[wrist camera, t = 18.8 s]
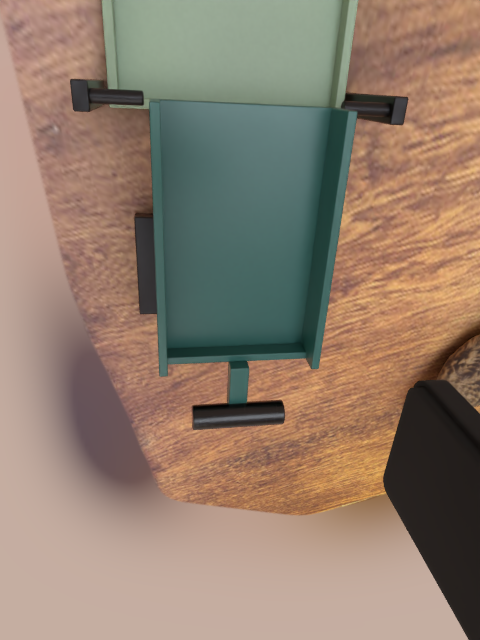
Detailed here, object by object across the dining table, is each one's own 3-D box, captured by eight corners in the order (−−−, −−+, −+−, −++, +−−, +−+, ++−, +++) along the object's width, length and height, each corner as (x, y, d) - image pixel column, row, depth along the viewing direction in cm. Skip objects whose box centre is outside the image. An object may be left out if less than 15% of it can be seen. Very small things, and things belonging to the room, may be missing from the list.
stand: (322, 304, 39) (358, 354, 32) (111, 309, 36) (100, 366, 29) (352, 93, 32) (409, 97, 25) (91, 79, 29) (69, 78, 22)
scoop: (298, 395, 34) (312, 427, 31) (161, 403, 32) (161, 437, 29) (337, 107, 25) (362, 111, 22) (149, 98, 23) (148, 101, 20)
